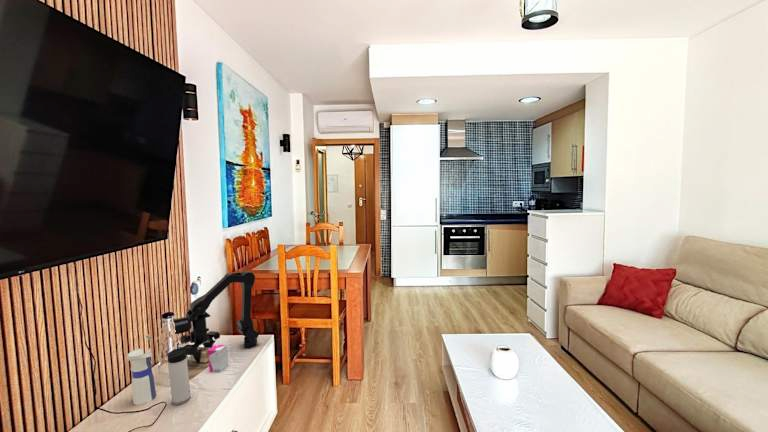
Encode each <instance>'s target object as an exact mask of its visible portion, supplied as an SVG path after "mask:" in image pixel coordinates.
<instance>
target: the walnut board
mask: <svg viewBox="0 0 768 432" xmlns="http://www.w3.org/2000/svg"><path fill="white" fill-rule="evenodd" d="M187 366H188V376H189V381H191V380H192V379H193V378H195V377H197V376H198V375H199V374H201V373H202V372H204V371H205V370H207V369H208V368H209V362H207V363H206V364H205V363H196V362H191V358H190V359H189V360H187Z"/></svg>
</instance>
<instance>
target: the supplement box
mask: <svg viewBox="0 0 768 432" xmlns="http://www.w3.org/2000/svg"><path fill="white" fill-rule="evenodd" d="M227 346H228V345H227V344H214V345H213V347H212V348H210V349H209V350H208V358H209V367H208V368H209V373H222V372H224V371H225V370H226V369H227V368H228V367H229V358H228V356H229V355H228V347H227Z"/></svg>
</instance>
